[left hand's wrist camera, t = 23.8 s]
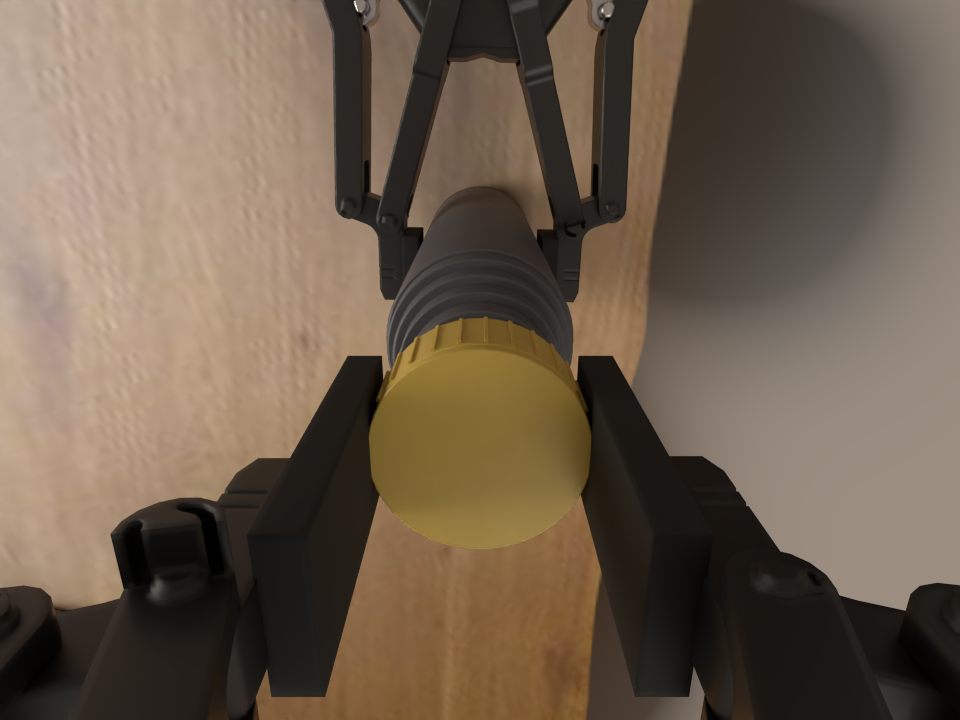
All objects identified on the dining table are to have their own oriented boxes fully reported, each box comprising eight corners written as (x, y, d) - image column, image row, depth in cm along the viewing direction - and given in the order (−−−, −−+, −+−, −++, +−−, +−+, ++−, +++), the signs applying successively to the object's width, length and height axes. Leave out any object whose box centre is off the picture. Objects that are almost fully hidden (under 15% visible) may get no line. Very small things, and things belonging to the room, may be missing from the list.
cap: (410, 515, 15) (400, 570, 13) (353, 341, 14) (333, 376, 12) (596, 476, 15) (613, 528, 13) (559, 293, 13) (572, 321, 12)
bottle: (478, 303, 38) (477, 595, 15) (410, 235, 36) (287, 437, 13) (549, 238, 37) (671, 442, 13) (481, 164, 35) (483, 247, 12)
